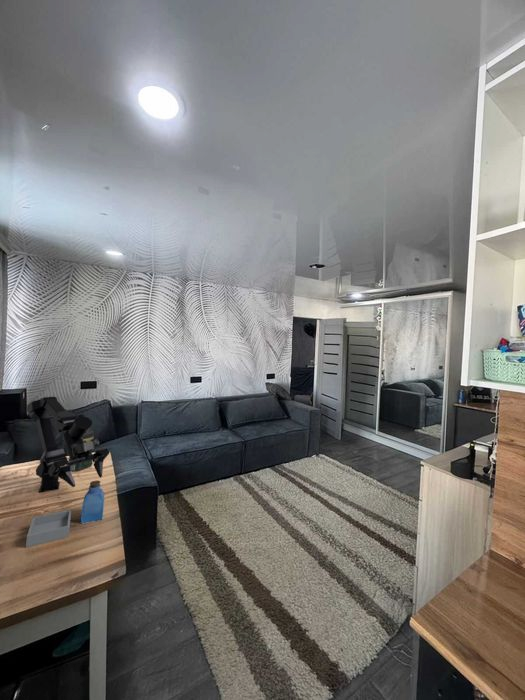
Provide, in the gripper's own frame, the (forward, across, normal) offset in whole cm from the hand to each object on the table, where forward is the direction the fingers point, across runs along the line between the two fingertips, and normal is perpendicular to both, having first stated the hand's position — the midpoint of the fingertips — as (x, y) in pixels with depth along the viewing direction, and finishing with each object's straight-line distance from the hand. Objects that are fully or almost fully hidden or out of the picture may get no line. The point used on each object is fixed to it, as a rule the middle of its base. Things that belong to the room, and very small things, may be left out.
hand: (88, 481), depth 98 cm
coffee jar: (-20, +17, +36) cm, 44 cm away
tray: (+9, -12, +6) cm, 16 cm away
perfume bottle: (+11, 0, +5) cm, 12 cm away
